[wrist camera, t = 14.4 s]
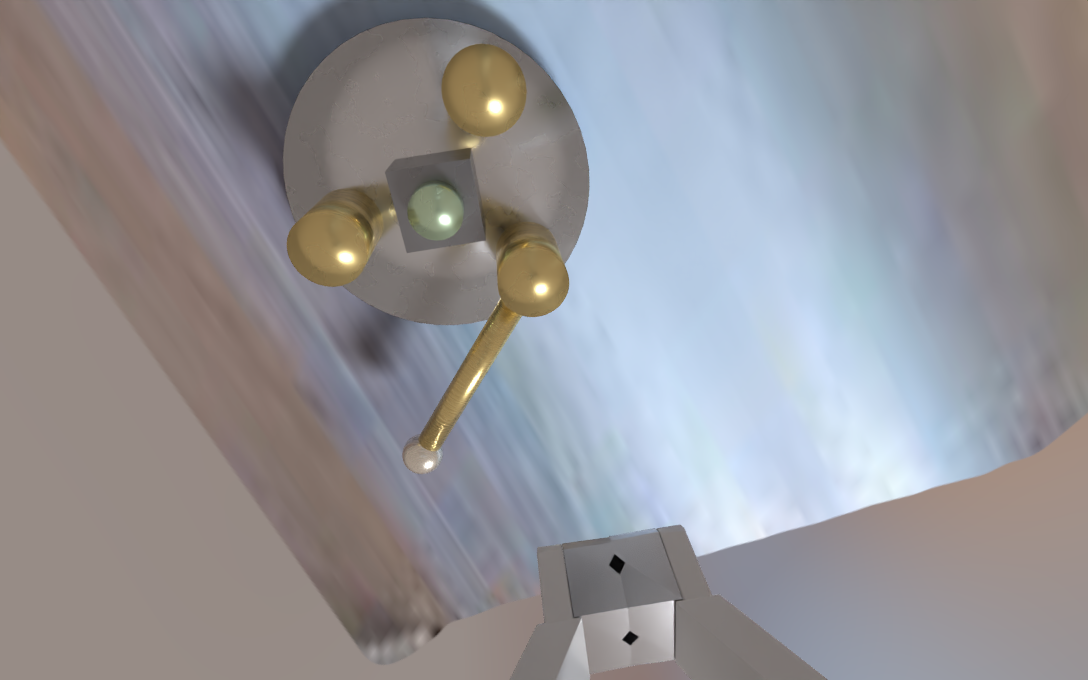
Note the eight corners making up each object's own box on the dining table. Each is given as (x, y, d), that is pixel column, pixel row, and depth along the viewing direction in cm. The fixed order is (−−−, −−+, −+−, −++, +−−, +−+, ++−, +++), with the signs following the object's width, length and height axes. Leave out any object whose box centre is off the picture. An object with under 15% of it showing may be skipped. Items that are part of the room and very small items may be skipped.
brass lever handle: (514, 210, 37) (519, 237, 32) (569, 240, 38) (582, 271, 33) (395, 423, 44) (383, 474, 39) (444, 442, 46) (439, 493, 40)
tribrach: (243, 45, 33) (178, 45, 26) (568, -4, 33) (591, -17, 26) (346, 332, 42) (318, 388, 35) (595, 291, 43) (617, 339, 36)
